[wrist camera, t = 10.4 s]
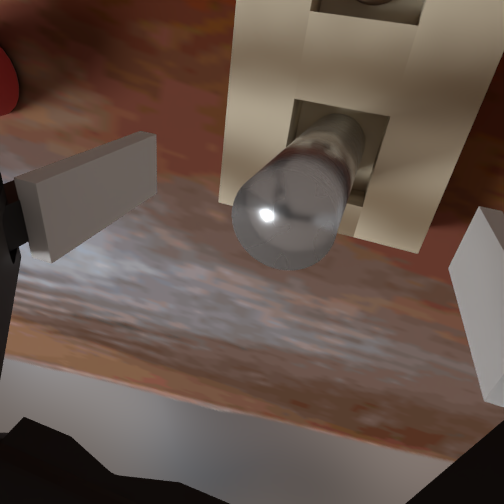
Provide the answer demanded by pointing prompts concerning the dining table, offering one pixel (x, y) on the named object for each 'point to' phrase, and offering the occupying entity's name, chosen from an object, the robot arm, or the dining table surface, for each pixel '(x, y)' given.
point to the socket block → (363, 96)
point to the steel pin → (300, 195)
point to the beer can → (7, 84)
